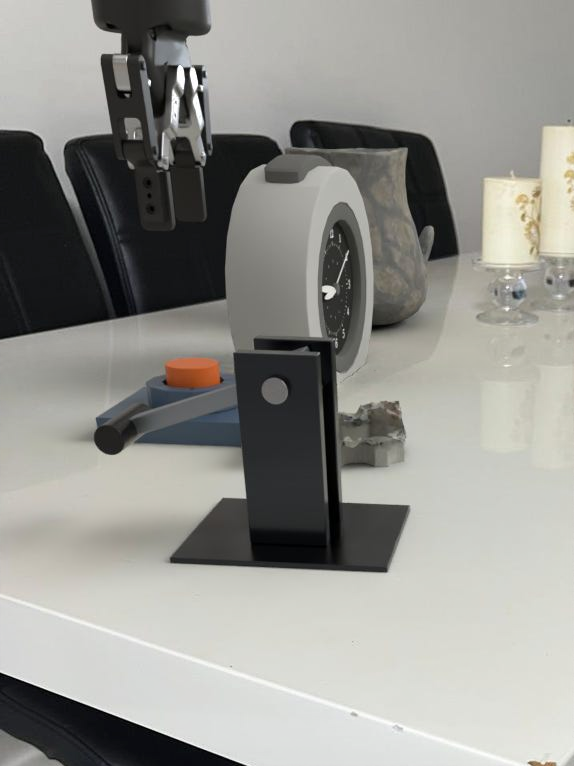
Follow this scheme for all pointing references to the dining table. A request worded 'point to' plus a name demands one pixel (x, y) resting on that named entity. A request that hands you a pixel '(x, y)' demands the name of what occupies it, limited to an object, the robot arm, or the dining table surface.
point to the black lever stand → (292, 473)
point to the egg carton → (372, 435)
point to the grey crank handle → (160, 417)
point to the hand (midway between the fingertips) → (175, 225)
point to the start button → (192, 372)
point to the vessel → (386, 228)
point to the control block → (196, 431)
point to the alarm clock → (301, 258)
